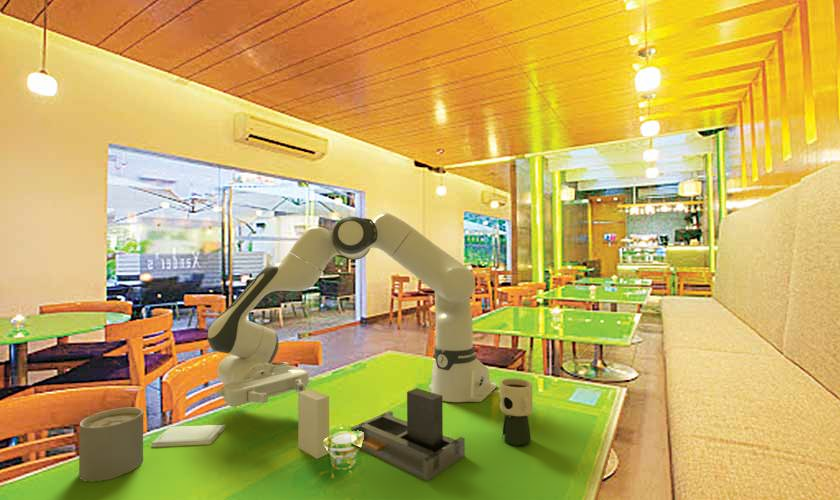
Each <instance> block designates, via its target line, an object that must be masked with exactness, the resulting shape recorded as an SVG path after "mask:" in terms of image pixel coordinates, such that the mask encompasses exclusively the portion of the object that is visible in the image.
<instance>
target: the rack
mask: <svg viewBox="0 0 840 500" xmlns="http://www.w3.org/2000/svg"><path fill="white" fill-rule="evenodd" d="M406 412H407V413H406V420H407V421H406V420H403V419H401V418H399V417H396V416H394V412H393V411H391V410H389V411H387V412H385V413H382V414H379V415H377V416H375V417H373V418H371V419H368V420H365V421H363V422H361V423H359V424H356V425H354V426H351V427H350V428H351V431H357V430H359V431H362V432H364V440H363V443H362V447H361V449H360V450H362V451H365V453H368V454H371V455H372V456H374V457H377V458H378V459H381V460H383V461H385V462H387V463H389V464H391V465H393V466H395V467H397V468H399V469H401V470H403V471H405V472H407V473H410V474H411V475H412V476H416V477H418V478H419V479H422V480H423V481H424V482H429V481H430V480H432V479H433V478H435V477H436V476H438V475H439V474H441V473H442V472H444V471H445V470H447V469H449V468H450V467H451V466H453V465H454V464H455V463H457V462H459V461H460V460H461V459H463V458H464V457H466V454H465V453H466V451H465V449H466V448H465V445H466V443H465V439H466V438H465V437H462V436H460V437H458V438H457V439H455V438H451V437H449V436H446V435H444V434H443V433H444V431H443V430H444V428H443V423H444V422H443V417H444V416H443V412H444V411H443V401H442V395H438V394H435V393H431V391H427V390H425V389H421V388H418V387H417V388H413V389H411V390H408V391H407V392H406Z"/></svg>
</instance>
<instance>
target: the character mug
mask: <svg viewBox="0 0 840 500" xmlns="http://www.w3.org/2000/svg"><path fill="white" fill-rule="evenodd" d="M499 395H500V397H499V398H500V402H499V408H500V411H501V412H502V413H503V414H504V418H503V425H502V434H501V435H502V437H501V438H502V440H503V439H504V442H505V443H507V444H510V445H514V446H519V445H524V444H528V443H530V442H531V441H532V439H531V438H532V437H531V430H530V423H529V417H528V416H529V415H531V414H532V412H533V382H531V381H529V380H527V379H523V378H515V377H513V378H504V379H502V380H500V381H499Z"/></svg>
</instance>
